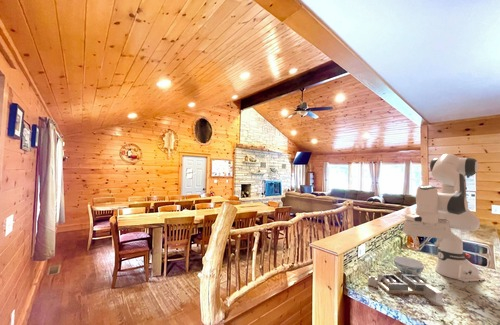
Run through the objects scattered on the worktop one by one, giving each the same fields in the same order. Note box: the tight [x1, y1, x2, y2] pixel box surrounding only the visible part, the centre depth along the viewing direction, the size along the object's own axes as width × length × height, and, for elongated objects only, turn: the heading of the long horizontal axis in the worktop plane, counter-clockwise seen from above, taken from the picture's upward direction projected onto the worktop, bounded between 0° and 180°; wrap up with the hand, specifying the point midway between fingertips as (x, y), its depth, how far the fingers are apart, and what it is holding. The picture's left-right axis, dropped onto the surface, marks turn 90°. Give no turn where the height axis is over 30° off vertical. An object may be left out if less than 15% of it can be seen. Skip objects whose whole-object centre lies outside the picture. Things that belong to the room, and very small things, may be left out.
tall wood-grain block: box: [423, 283, 443, 306], centre depth 103 cm, size 3×7×6 cm, turn 179°
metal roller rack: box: [377, 273, 434, 295], centre depth 114 cm, size 24×11×4 cm, turn 89°
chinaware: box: [393, 256, 425, 276], centre depth 129 cm, size 15×15×8 cm
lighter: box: [368, 272, 384, 289], centre depth 114 cm, size 7×2×8 cm, turn 45°
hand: (426, 245), depth 107 cm, fingers open, 8 cm apart
